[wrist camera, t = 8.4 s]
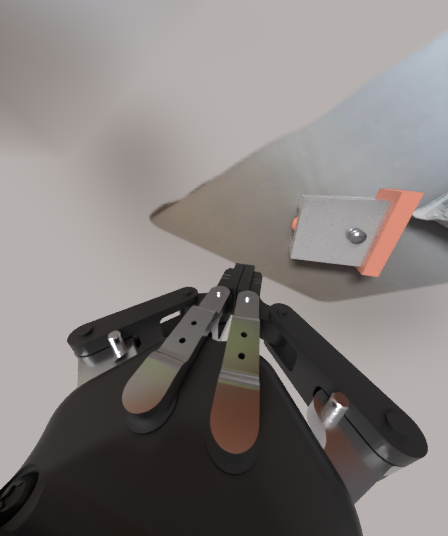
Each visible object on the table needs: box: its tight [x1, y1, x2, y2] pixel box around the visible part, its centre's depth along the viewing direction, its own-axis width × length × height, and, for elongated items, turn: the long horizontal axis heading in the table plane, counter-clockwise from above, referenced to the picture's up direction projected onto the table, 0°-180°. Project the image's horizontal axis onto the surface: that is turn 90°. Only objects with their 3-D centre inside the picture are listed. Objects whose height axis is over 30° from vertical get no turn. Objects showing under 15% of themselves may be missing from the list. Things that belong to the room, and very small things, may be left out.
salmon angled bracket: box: [292, 189, 424, 277], centre depth 25 cm, size 12×11×5 cm
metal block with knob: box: [289, 194, 394, 267], centre depth 25 cm, size 10×9×6 cm
